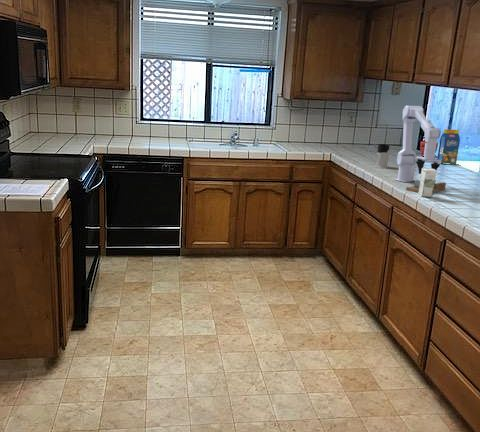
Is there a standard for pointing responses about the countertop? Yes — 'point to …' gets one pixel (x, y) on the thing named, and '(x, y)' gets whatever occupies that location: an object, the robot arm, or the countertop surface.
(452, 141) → the blue food package
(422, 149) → the plant pot
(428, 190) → the syrup box
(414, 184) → the tray
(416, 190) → the shelf
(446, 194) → the countertop surface
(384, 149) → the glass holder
